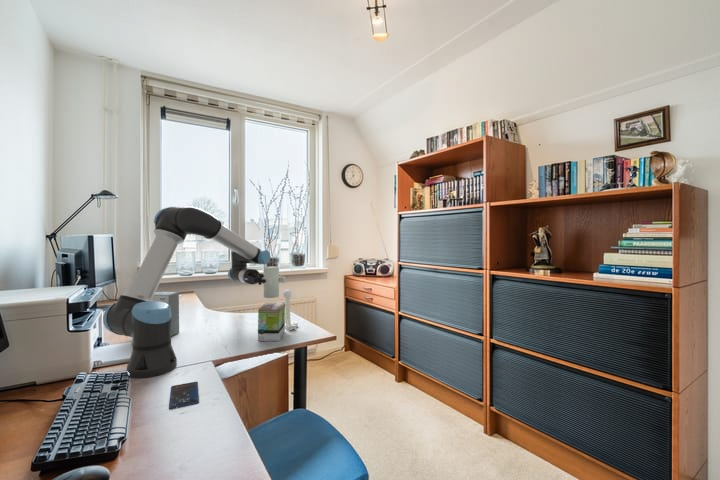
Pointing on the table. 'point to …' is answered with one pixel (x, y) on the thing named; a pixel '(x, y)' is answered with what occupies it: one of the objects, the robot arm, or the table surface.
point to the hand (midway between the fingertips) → (277, 280)
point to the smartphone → (184, 395)
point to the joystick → (288, 311)
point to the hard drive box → (173, 302)
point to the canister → (273, 289)
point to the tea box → (271, 321)
